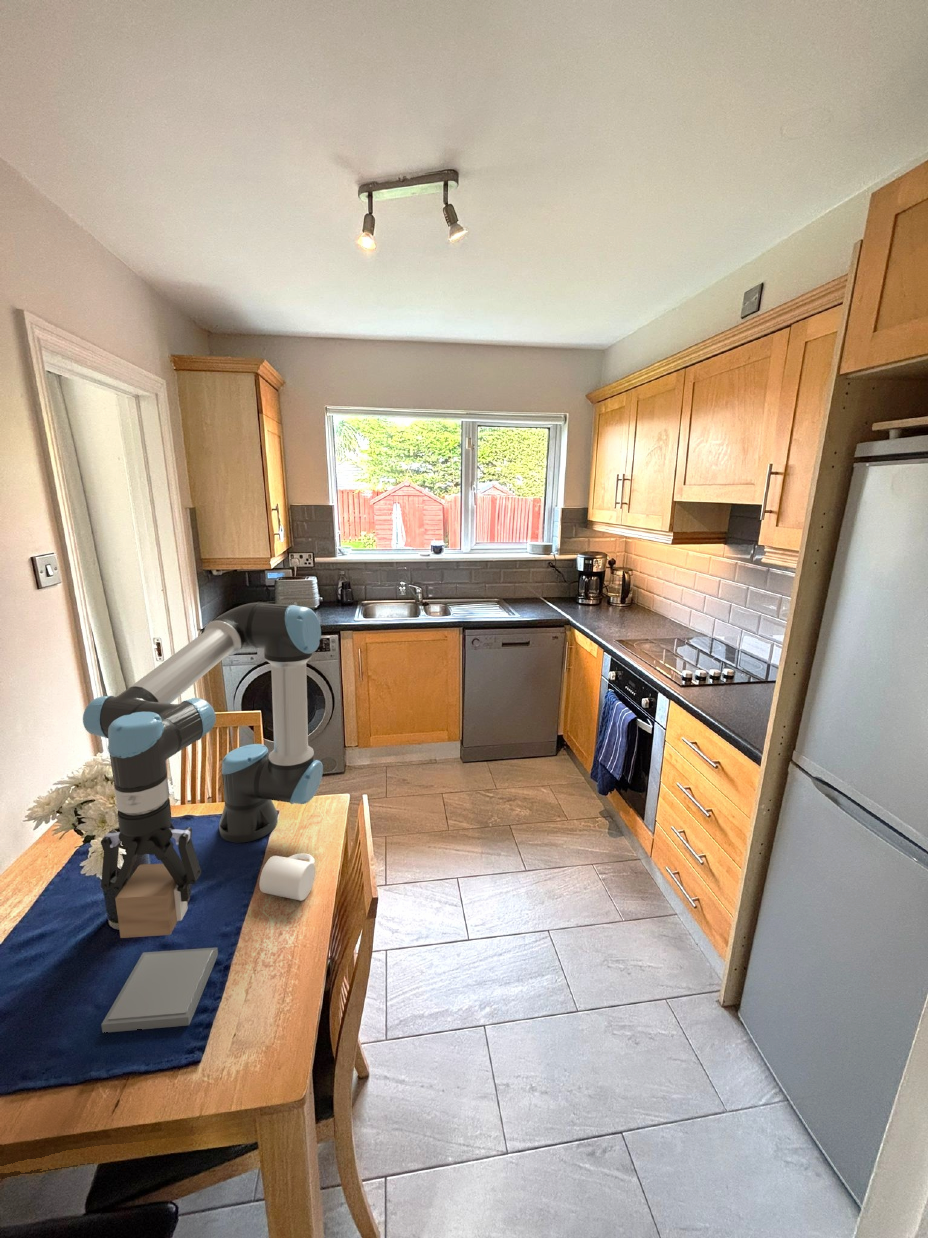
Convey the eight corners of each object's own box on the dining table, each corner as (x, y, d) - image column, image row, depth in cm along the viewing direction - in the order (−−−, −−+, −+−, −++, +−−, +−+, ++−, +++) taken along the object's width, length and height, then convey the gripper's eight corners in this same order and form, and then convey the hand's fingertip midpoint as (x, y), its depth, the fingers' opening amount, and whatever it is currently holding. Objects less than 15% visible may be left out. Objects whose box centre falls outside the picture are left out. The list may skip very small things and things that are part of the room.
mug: (299, 909, 112) (298, 879, 110) (259, 900, 114) (258, 871, 112) (324, 872, 123) (323, 844, 122) (287, 865, 125) (286, 837, 123)
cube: (144, 901, 92) (139, 864, 90) (189, 899, 93) (186, 862, 91) (120, 938, 84) (115, 898, 82) (170, 934, 85) (166, 895, 83)
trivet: (143, 960, 98) (142, 951, 97) (218, 954, 100) (217, 946, 99) (102, 1033, 84) (101, 1024, 84) (189, 1025, 86) (188, 1016, 86)
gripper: (61, 819, 78) (80, 938, 83) (200, 814, 81) (210, 929, 86) (90, 793, 86) (105, 903, 91) (216, 789, 88) (224, 896, 93)
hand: (156, 916), depth 88 cm, fingers closed on cube, 8 cm apart
